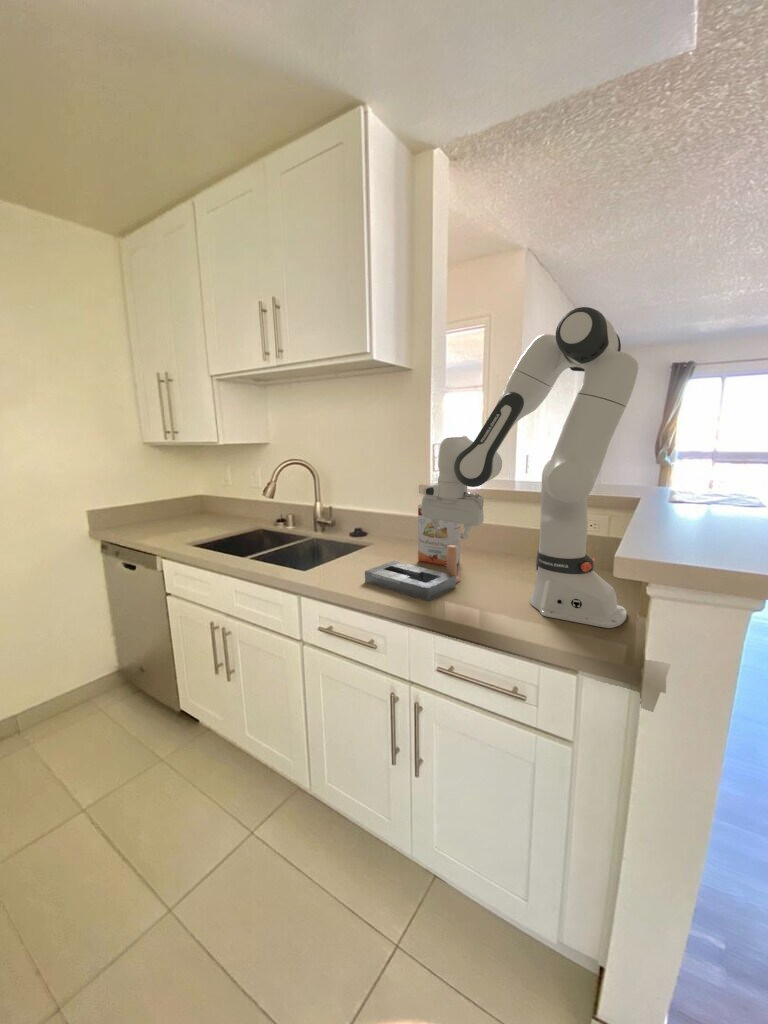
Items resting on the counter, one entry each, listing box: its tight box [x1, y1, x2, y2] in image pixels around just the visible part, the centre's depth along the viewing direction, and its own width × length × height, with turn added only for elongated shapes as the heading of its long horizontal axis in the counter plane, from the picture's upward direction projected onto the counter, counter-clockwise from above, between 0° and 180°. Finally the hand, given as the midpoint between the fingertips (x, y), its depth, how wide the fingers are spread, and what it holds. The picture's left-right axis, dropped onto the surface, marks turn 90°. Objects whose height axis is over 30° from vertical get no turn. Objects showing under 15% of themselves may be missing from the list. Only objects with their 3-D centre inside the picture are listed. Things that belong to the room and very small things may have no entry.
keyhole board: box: [364, 560, 457, 602], centre depth 126 cm, size 24×14×4 cm, turn 48°
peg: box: [446, 545, 461, 584], centre depth 128 cm, size 5×5×11 cm
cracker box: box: [417, 503, 461, 567], centre depth 146 cm, size 14×6×21 cm, turn 55°
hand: (450, 535), depth 126 cm, fingers open, 8 cm apart
